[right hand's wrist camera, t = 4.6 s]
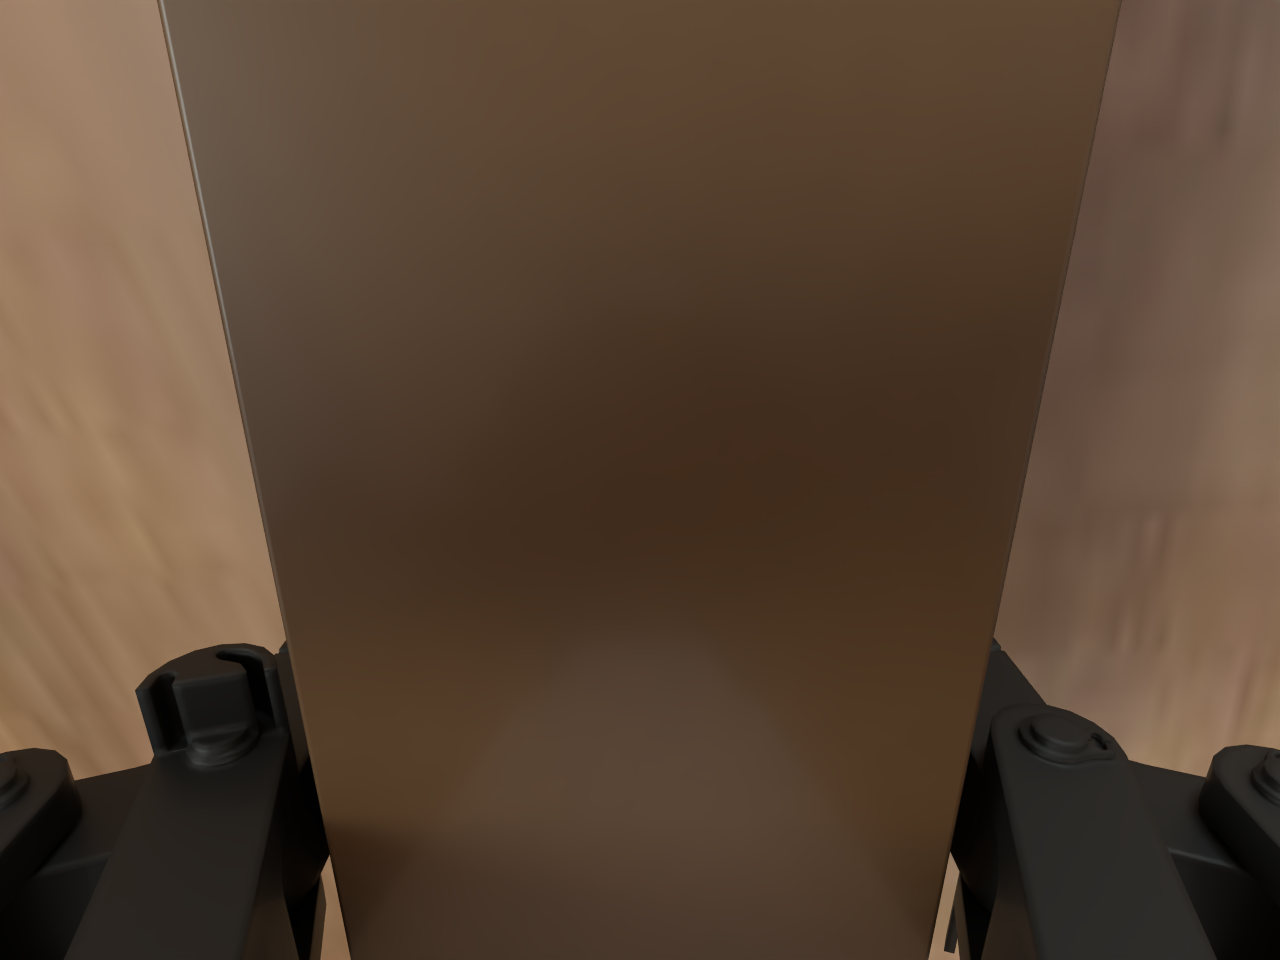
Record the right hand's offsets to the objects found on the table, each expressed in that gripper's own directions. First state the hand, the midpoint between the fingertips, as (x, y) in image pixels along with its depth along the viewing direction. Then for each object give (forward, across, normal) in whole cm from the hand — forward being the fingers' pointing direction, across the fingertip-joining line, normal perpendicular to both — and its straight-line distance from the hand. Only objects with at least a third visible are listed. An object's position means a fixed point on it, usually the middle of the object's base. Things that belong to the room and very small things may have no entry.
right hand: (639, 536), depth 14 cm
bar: (+1, 0, -10) cm, 10 cm away
